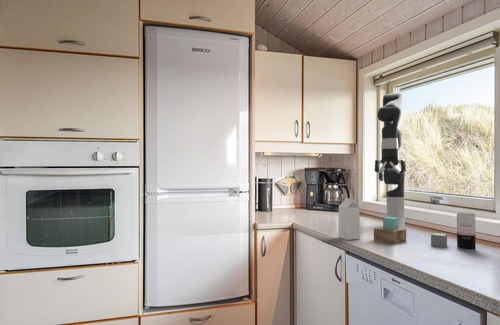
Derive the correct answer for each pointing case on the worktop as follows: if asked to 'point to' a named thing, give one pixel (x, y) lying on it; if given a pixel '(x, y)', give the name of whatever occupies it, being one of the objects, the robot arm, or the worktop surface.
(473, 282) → the worktop surface
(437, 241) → the gray cube
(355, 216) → the milk carton
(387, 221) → the teal cube
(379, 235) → the walnut base block
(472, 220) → the white and black canister
